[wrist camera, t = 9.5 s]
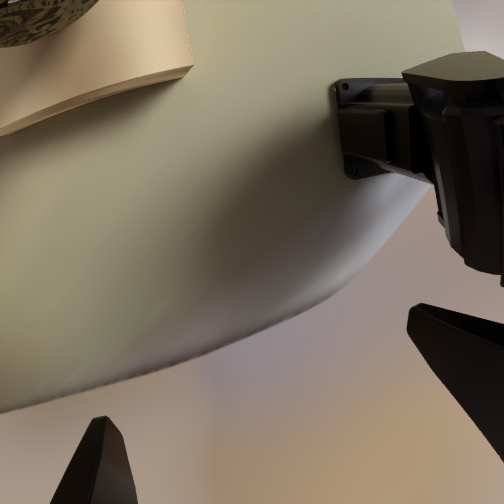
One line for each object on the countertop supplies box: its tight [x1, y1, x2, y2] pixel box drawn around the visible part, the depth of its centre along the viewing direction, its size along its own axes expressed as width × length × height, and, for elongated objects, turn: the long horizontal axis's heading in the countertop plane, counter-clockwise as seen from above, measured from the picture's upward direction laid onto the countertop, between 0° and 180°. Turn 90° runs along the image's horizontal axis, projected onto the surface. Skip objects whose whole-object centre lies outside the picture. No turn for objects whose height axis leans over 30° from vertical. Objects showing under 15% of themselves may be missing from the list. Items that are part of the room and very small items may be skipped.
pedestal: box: [0, 0, 194, 136], centre depth 10 cm, size 10×10×4 cm
